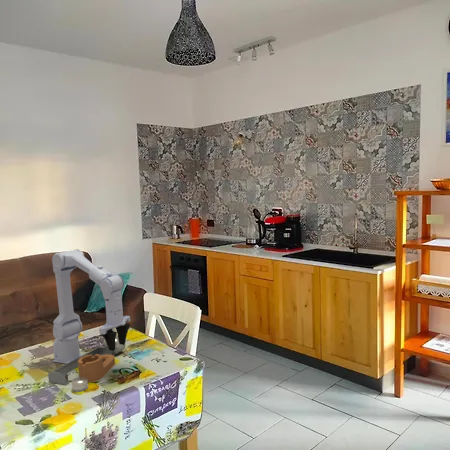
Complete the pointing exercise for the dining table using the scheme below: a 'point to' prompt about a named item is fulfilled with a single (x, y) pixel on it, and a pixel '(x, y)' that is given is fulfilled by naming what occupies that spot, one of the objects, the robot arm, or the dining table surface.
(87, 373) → the bracket
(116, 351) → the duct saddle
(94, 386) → the dining table surface
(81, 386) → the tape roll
